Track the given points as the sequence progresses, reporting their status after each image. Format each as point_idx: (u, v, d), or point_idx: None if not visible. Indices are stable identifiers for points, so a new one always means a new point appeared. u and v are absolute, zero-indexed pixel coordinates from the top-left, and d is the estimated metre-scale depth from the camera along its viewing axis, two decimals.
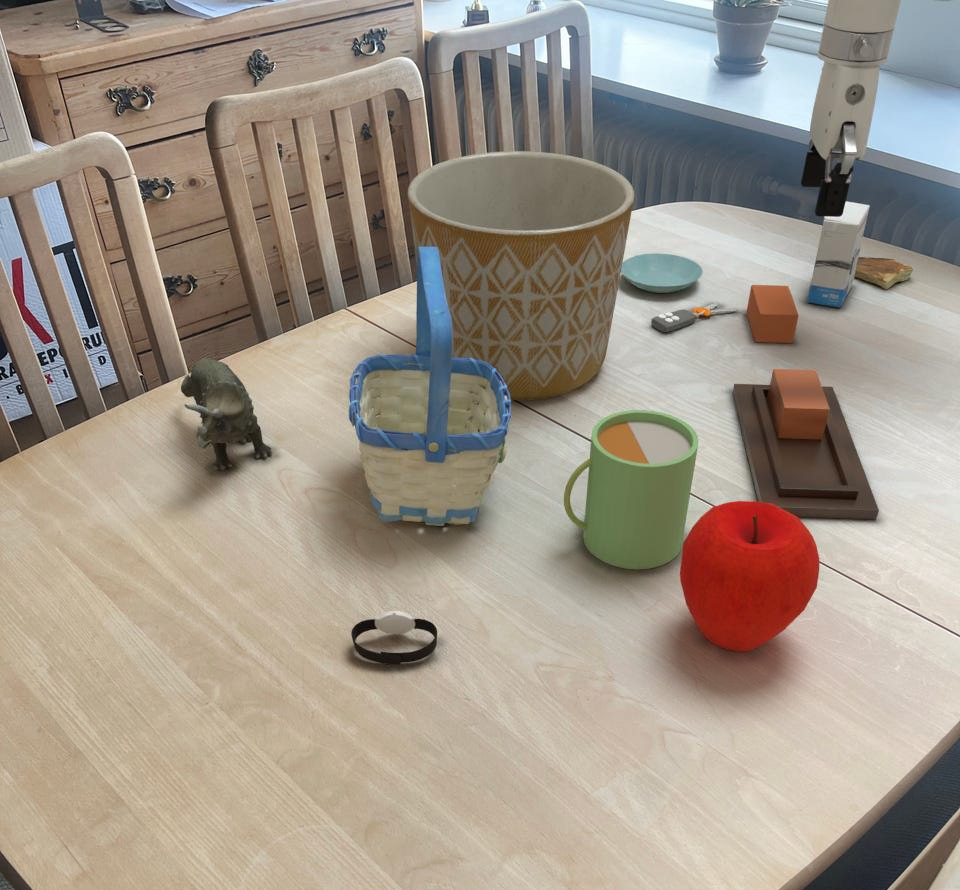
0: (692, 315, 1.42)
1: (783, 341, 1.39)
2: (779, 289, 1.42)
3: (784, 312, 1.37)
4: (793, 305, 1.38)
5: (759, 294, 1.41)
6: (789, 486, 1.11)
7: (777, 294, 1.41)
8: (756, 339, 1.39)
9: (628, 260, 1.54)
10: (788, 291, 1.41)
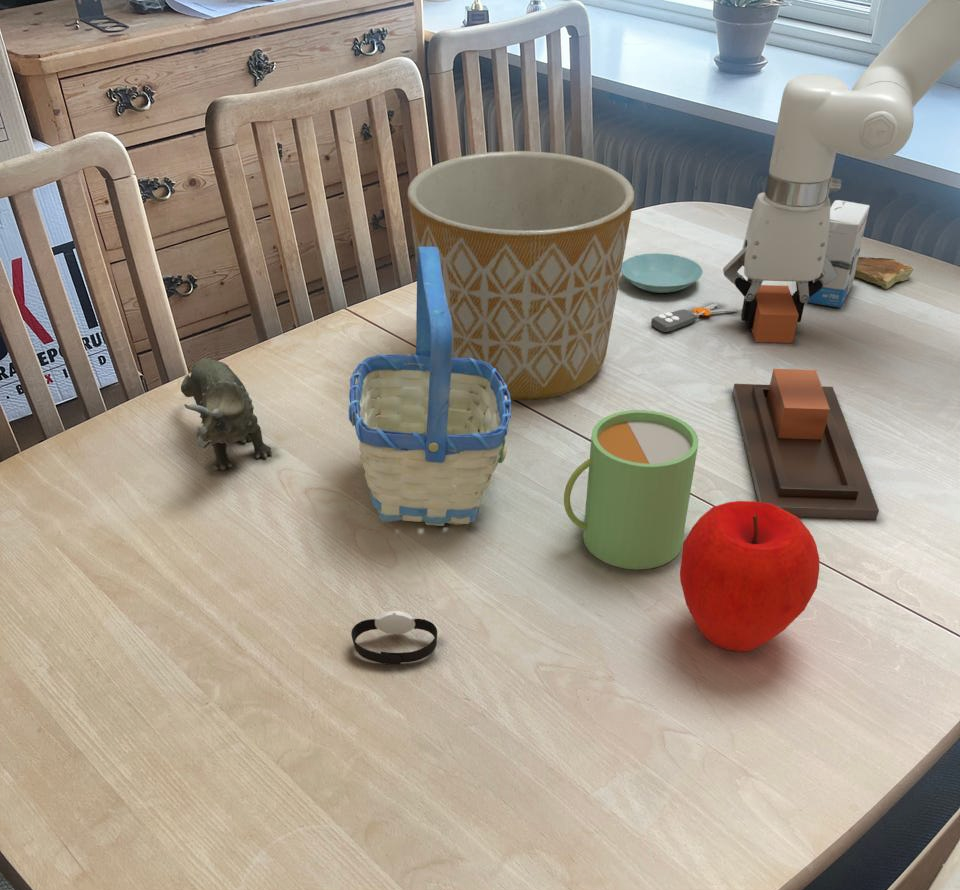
0: (692, 315, 1.42)
1: (783, 341, 1.39)
2: (779, 289, 1.42)
3: (784, 312, 1.37)
4: (793, 305, 1.38)
5: (759, 294, 1.41)
6: (789, 486, 1.11)
7: (777, 294, 1.41)
8: (756, 339, 1.39)
9: (628, 260, 1.54)
10: (788, 291, 1.41)
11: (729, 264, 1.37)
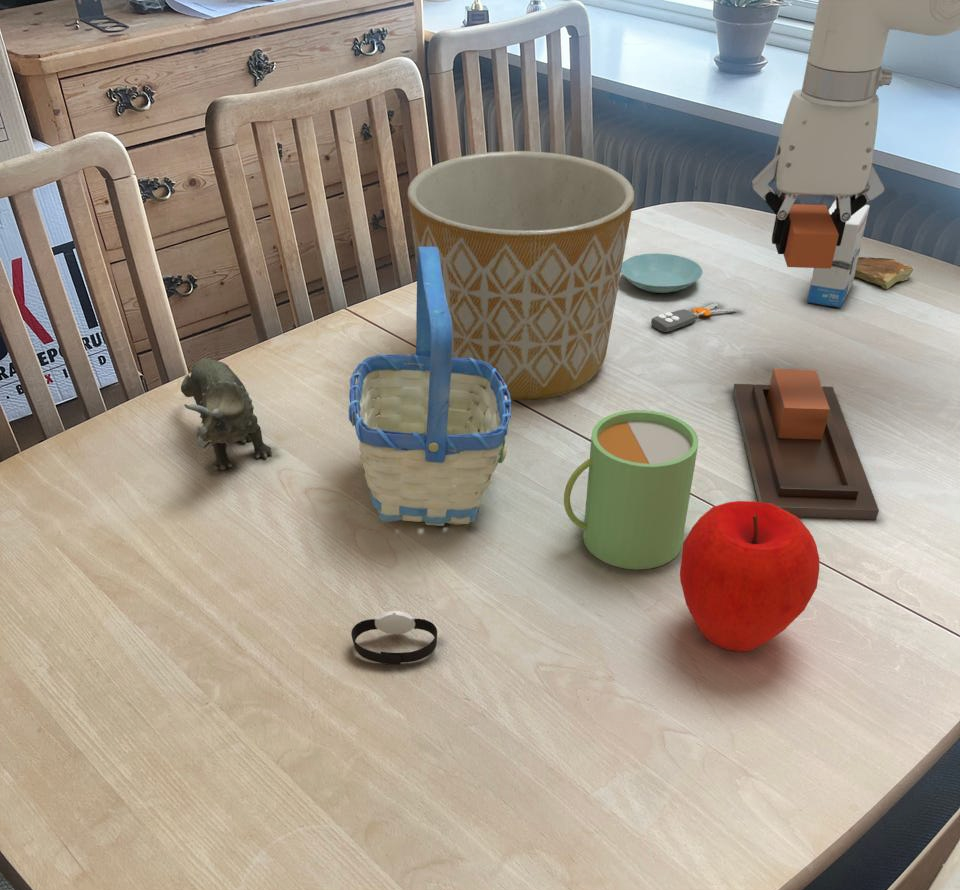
0: (692, 315, 1.42)
1: (820, 266, 1.21)
2: (816, 208, 1.24)
3: (822, 232, 1.18)
4: (832, 224, 1.20)
5: (792, 213, 1.22)
6: (789, 486, 1.11)
7: (814, 213, 1.22)
8: (789, 263, 1.21)
9: (628, 260, 1.54)
10: (826, 211, 1.23)
11: (759, 175, 1.19)
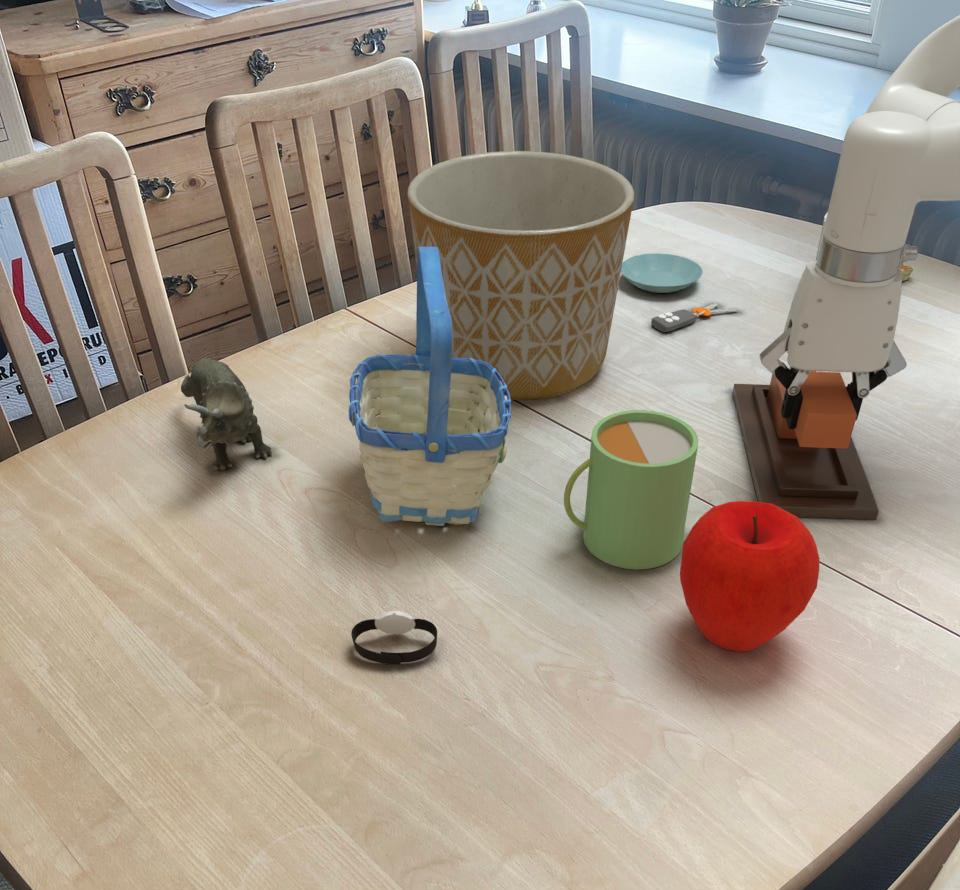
0: (692, 315, 1.42)
1: (836, 446, 1.09)
2: (829, 377, 1.12)
3: (838, 412, 1.07)
4: (849, 401, 1.08)
5: (804, 385, 1.11)
6: (789, 486, 1.11)
7: (827, 385, 1.11)
8: (801, 443, 1.09)
9: (628, 260, 1.54)
10: (841, 381, 1.11)
11: (768, 349, 1.07)
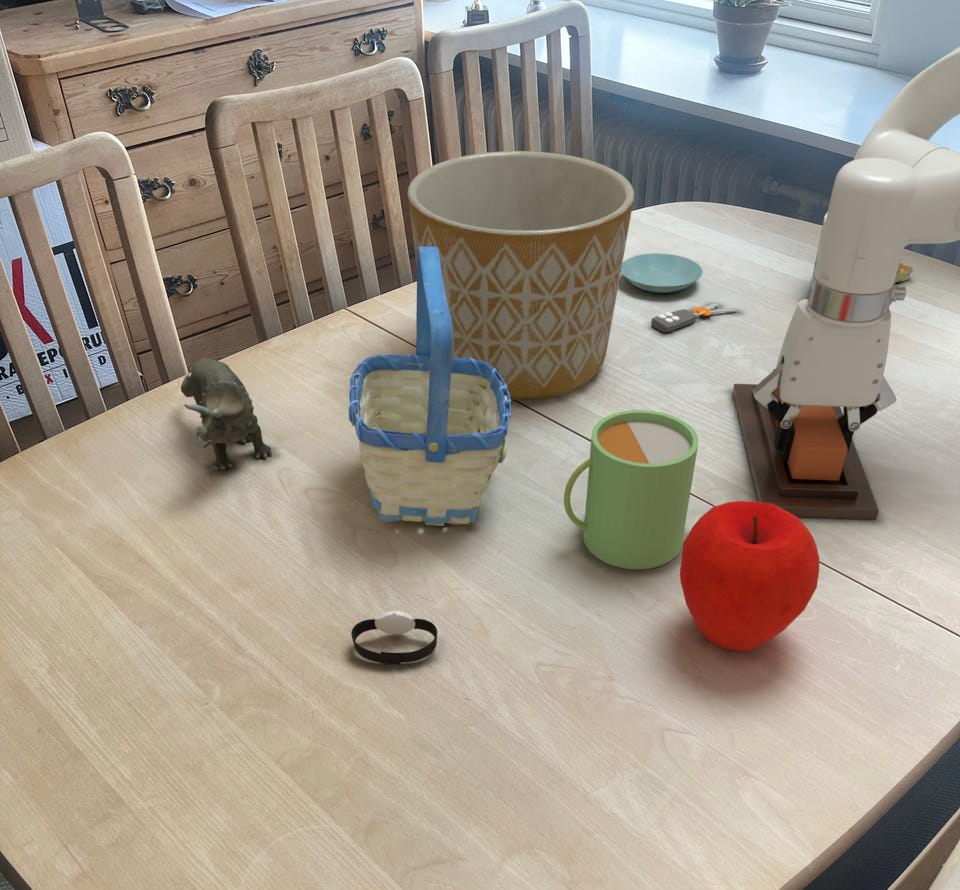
0: (692, 315, 1.42)
1: (827, 478, 1.12)
2: (821, 410, 1.15)
3: (830, 445, 1.09)
4: (840, 434, 1.11)
5: (796, 418, 1.13)
6: (789, 486, 1.11)
7: (819, 418, 1.13)
8: (794, 476, 1.12)
9: (628, 260, 1.54)
10: (832, 414, 1.14)
11: (761, 384, 1.10)
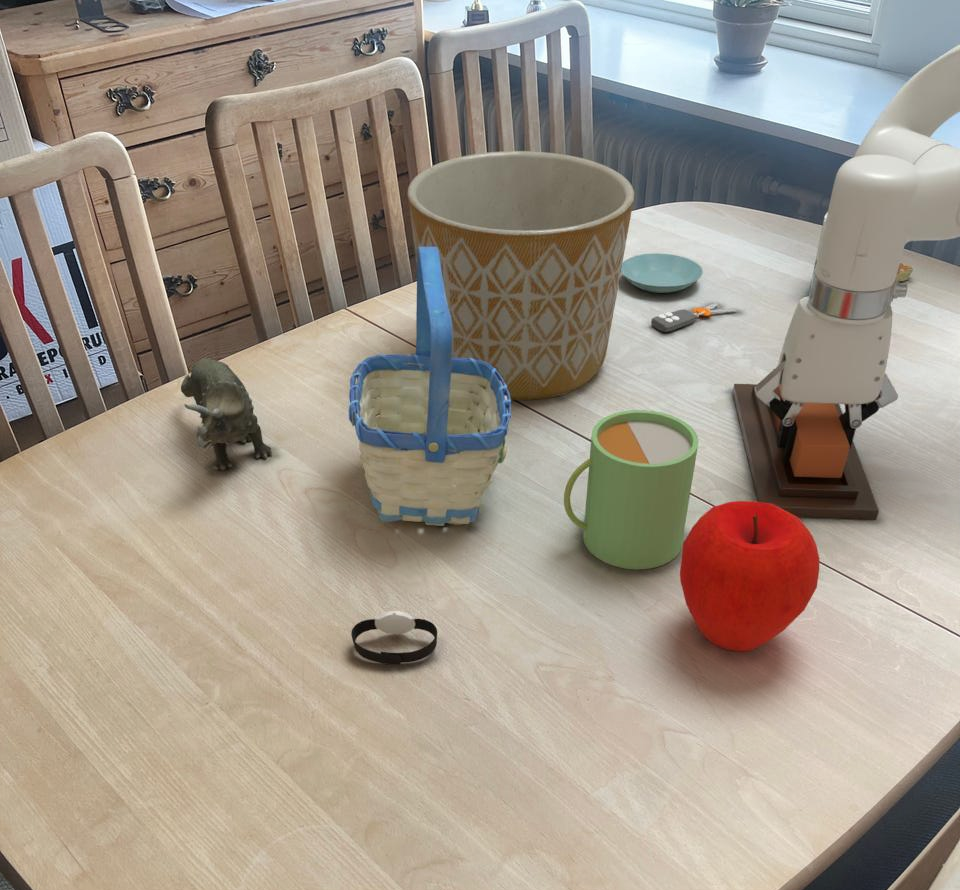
0: (692, 315, 1.42)
1: (829, 476, 1.12)
2: (823, 408, 1.15)
3: (832, 443, 1.09)
4: (842, 432, 1.11)
5: (798, 416, 1.13)
6: (789, 486, 1.11)
7: (821, 415, 1.13)
8: (796, 473, 1.12)
9: (628, 260, 1.54)
10: (834, 411, 1.14)
11: (762, 382, 1.09)
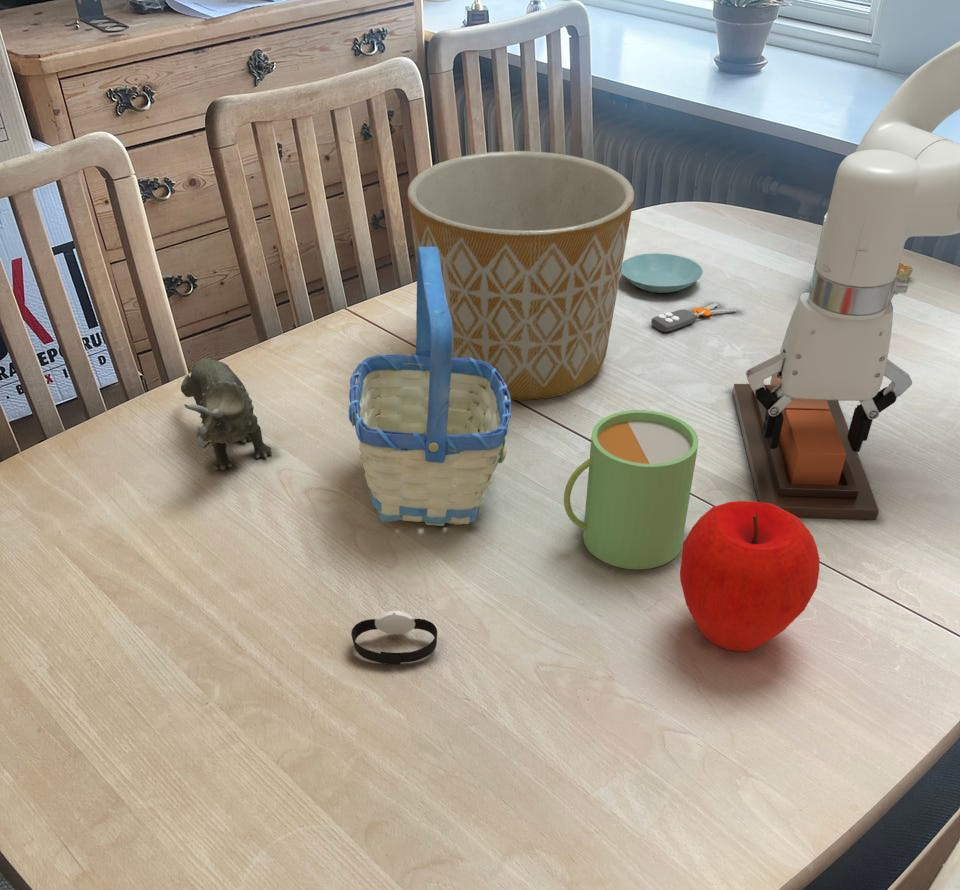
0: (692, 315, 1.42)
1: (826, 484, 1.12)
2: (820, 416, 1.15)
3: (828, 451, 1.10)
4: (839, 440, 1.12)
5: (795, 424, 1.14)
6: (789, 486, 1.11)
7: (818, 423, 1.14)
8: (792, 481, 1.12)
9: (628, 260, 1.54)
10: (831, 419, 1.15)
11: (757, 368, 1.08)
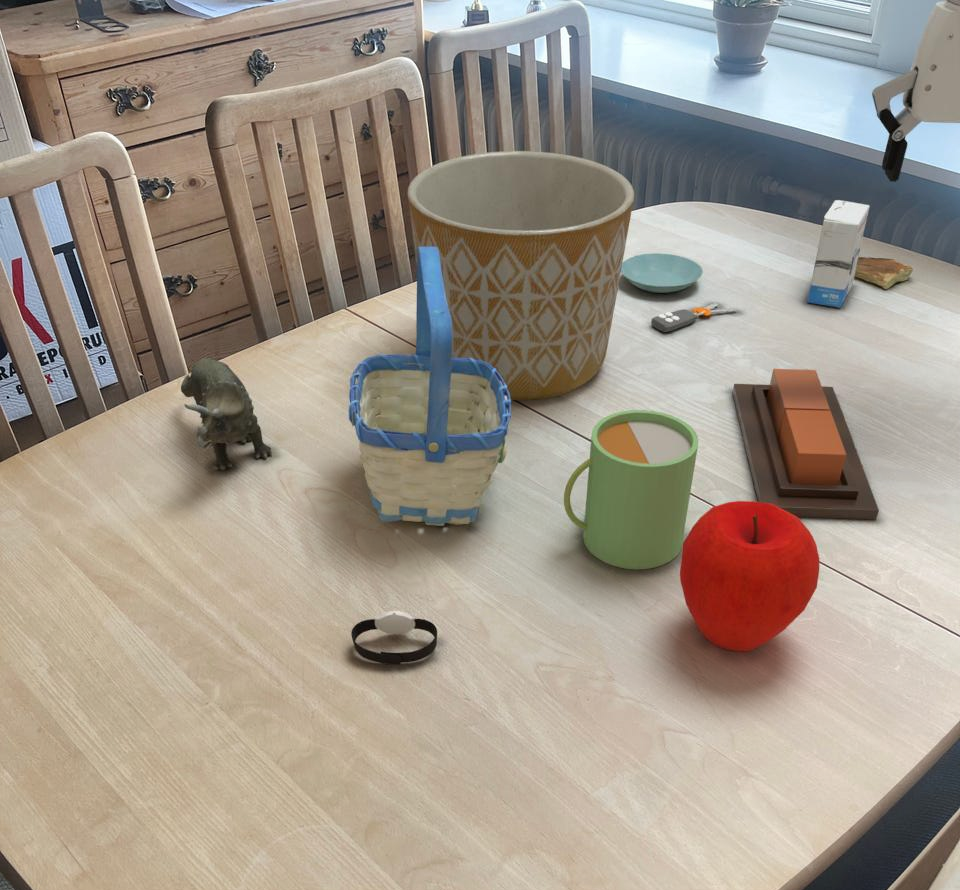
0: (692, 315, 1.42)
1: (826, 484, 1.12)
2: (820, 416, 1.15)
3: (828, 451, 1.10)
4: (839, 440, 1.12)
5: (795, 424, 1.14)
6: (789, 486, 1.11)
7: (818, 423, 1.14)
8: (792, 481, 1.12)
9: (628, 260, 1.54)
10: (831, 419, 1.15)
11: (885, 85, 1.05)
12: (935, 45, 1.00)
